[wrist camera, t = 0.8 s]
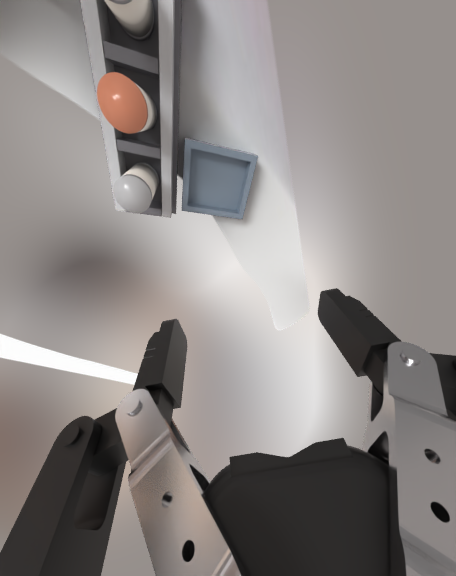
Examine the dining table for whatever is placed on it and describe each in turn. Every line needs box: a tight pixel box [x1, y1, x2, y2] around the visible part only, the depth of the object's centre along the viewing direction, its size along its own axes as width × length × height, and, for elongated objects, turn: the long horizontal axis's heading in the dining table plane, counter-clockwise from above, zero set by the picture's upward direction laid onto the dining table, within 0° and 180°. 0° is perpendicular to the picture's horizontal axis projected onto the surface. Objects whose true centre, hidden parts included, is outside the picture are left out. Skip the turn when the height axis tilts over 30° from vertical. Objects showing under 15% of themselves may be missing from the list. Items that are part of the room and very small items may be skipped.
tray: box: [182, 138, 258, 219], centre depth 28 cm, size 10×9×3 cm
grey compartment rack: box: [80, 0, 182, 217], centre depth 21 cm, size 8×23×4 cm, turn 168°
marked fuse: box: [97, 72, 158, 134], centre depth 19 cm, size 4×4×9 cm
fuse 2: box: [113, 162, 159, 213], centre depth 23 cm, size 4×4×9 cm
